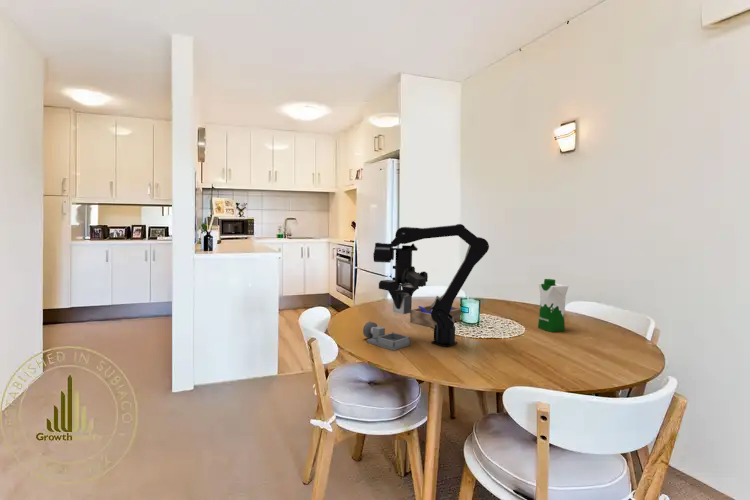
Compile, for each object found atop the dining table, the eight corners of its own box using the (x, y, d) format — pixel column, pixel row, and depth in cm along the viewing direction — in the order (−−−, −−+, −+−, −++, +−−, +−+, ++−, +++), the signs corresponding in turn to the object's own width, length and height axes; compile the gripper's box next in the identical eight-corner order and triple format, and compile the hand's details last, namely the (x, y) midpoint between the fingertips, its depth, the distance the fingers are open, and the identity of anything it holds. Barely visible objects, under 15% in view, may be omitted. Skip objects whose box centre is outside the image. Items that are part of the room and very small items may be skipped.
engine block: (411, 312, 140) (411, 293, 139) (403, 314, 137) (404, 294, 136) (400, 310, 143) (401, 291, 143) (392, 311, 140) (393, 292, 140)
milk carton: (534, 327, 162) (536, 278, 161) (551, 325, 165) (554, 277, 164) (551, 333, 154) (553, 281, 152) (568, 331, 157) (571, 280, 156)
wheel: (377, 336, 144) (378, 321, 143) (367, 339, 140) (367, 324, 139) (372, 335, 145) (373, 320, 145) (362, 338, 141) (362, 322, 141)
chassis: (410, 345, 136) (410, 331, 135) (393, 350, 129) (394, 336, 129) (380, 336, 145) (381, 324, 145) (364, 341, 139) (364, 328, 138)
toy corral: (461, 319, 172) (462, 308, 172) (435, 328, 158) (435, 315, 158) (437, 314, 181) (437, 303, 181) (410, 322, 167) (410, 310, 166)
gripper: (403, 267, 126) (401, 316, 128) (438, 263, 139) (437, 308, 141) (378, 264, 134) (376, 310, 136) (414, 261, 147) (412, 303, 149)
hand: (402, 307), depth 140 cm, fingers closed on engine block, 4 cm apart
